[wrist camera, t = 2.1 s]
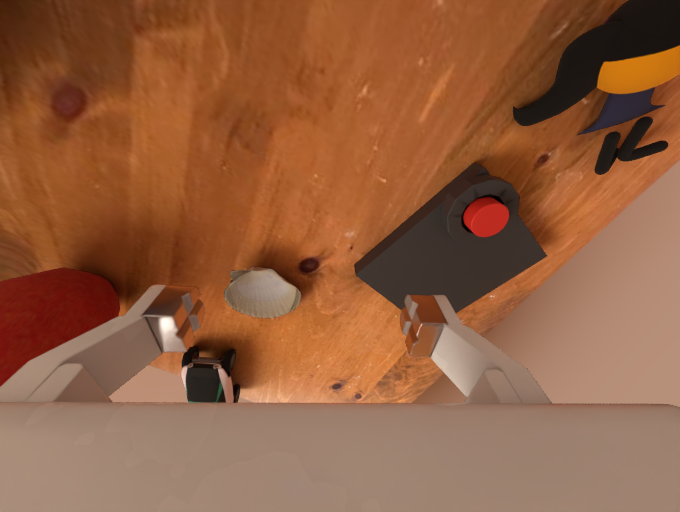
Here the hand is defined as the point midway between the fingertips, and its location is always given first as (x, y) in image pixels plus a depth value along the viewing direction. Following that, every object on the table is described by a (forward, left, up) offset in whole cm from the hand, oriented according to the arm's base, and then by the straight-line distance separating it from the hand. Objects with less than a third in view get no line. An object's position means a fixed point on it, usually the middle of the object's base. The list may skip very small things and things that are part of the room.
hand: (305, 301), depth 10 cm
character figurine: (-20, +11, -16) cm, 28 cm away
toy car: (+31, +7, -16) cm, 35 cm away
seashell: (+13, +3, -16) cm, 21 cm away
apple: (+26, -11, -16) cm, 32 cm away
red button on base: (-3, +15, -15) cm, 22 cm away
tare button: (-8, +11, -12) cm, 19 cm away
